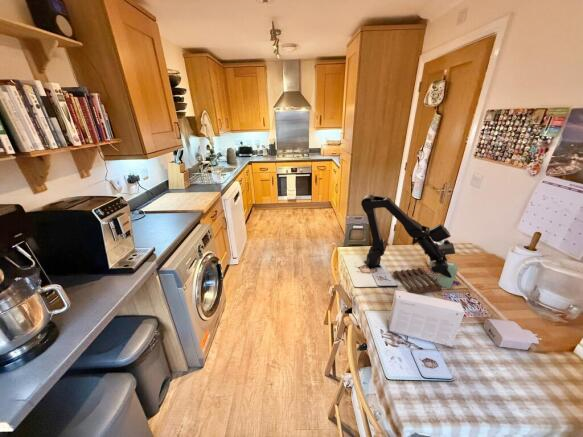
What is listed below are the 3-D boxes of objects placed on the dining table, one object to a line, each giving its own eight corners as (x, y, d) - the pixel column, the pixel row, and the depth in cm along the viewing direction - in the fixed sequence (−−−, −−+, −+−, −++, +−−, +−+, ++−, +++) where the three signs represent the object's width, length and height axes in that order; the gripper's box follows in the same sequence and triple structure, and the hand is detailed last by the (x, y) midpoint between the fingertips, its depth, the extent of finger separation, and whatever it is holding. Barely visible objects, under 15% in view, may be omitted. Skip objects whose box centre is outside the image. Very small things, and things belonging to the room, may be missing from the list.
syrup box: (440, 268, 122) (448, 245, 116) (428, 267, 123) (435, 244, 117) (437, 262, 127) (444, 239, 121) (425, 261, 128) (431, 238, 122)
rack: (410, 295, 104) (411, 290, 103) (392, 276, 116) (393, 271, 115) (441, 290, 107) (442, 285, 105) (420, 272, 119) (421, 267, 118)
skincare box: (448, 334, 85) (461, 302, 79) (452, 347, 81) (466, 314, 74) (387, 320, 92) (395, 288, 85) (388, 331, 87) (396, 299, 80)
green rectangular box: (437, 285, 110) (443, 265, 105) (436, 278, 115) (443, 258, 110) (450, 288, 108) (458, 268, 103) (449, 281, 112) (456, 261, 107)
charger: (547, 353, 78) (498, 347, 80) (526, 330, 87) (482, 325, 89) (553, 344, 76) (503, 338, 79) (531, 321, 85) (486, 317, 87)
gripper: (447, 247, 96) (471, 277, 95) (444, 229, 111) (465, 254, 110) (422, 258, 102) (444, 286, 102) (422, 240, 117) (442, 264, 117)
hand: (449, 271), depth 108 cm, fingers open, 9 cm apart
